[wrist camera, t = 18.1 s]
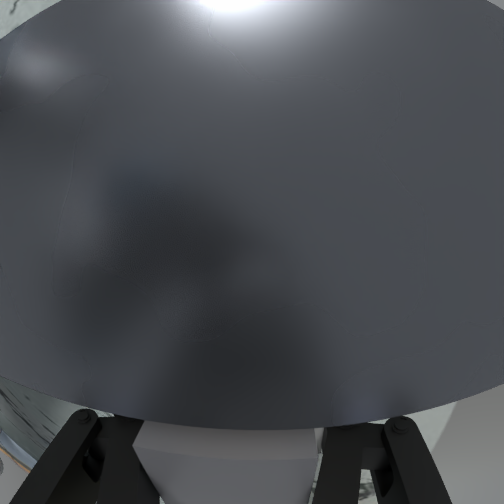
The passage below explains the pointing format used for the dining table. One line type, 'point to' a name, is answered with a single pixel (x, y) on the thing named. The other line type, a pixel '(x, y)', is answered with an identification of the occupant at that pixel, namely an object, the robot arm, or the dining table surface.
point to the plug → (228, 464)
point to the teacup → (1, 464)
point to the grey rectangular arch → (253, 208)
